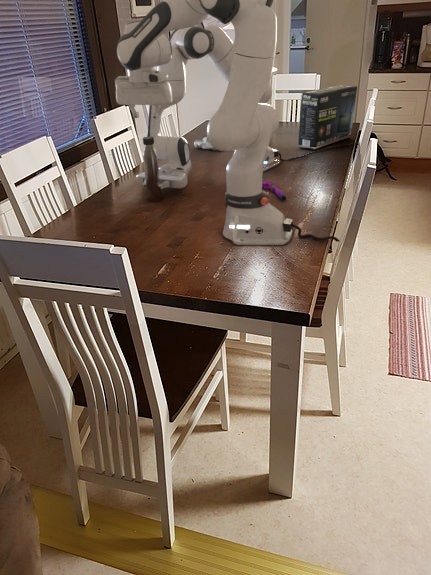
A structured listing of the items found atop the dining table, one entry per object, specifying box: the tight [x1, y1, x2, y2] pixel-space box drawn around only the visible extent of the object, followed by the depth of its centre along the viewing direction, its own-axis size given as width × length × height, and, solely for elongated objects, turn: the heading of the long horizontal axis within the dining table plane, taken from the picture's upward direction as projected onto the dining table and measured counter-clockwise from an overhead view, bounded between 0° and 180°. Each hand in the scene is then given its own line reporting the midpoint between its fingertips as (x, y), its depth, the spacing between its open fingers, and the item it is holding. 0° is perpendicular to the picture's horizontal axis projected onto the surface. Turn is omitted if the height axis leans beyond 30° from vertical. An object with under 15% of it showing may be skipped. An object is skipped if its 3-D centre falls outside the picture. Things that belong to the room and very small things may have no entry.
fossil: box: [193, 135, 218, 152], centre depth 245 cm, size 18×11×15 cm
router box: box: [297, 84, 358, 151], centre depth 238 cm, size 36×11×27 cm, turn 134°
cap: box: [142, 136, 154, 146], centre depth 169 cm, size 4×4×2 cm
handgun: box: [262, 180, 287, 202], centre depth 181 cm, size 21×8×2 cm, turn 11°
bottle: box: [142, 145, 162, 202], centre depth 174 cm, size 5×5×23 cm
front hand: (146, 117), depth 164 cm, fingers open, 6 cm apart
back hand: (152, 186), depth 177 cm, fingers closed on bottle, 5 cm apart
